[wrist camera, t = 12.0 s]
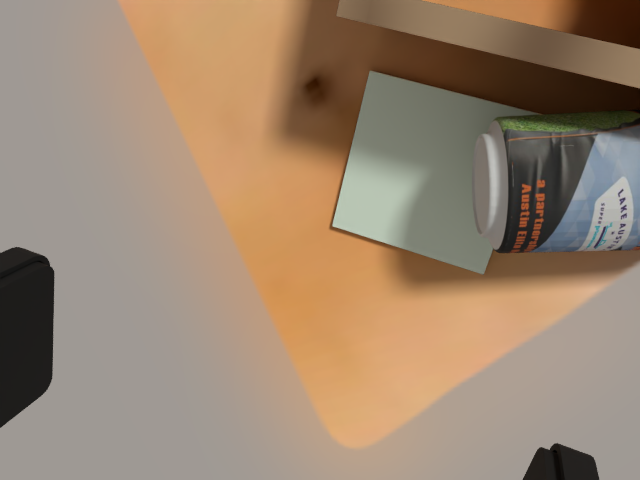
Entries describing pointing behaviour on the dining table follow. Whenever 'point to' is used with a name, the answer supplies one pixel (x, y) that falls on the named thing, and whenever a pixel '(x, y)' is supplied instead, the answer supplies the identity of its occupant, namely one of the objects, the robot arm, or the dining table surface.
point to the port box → (500, 37)
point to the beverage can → (559, 182)
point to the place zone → (417, 170)
